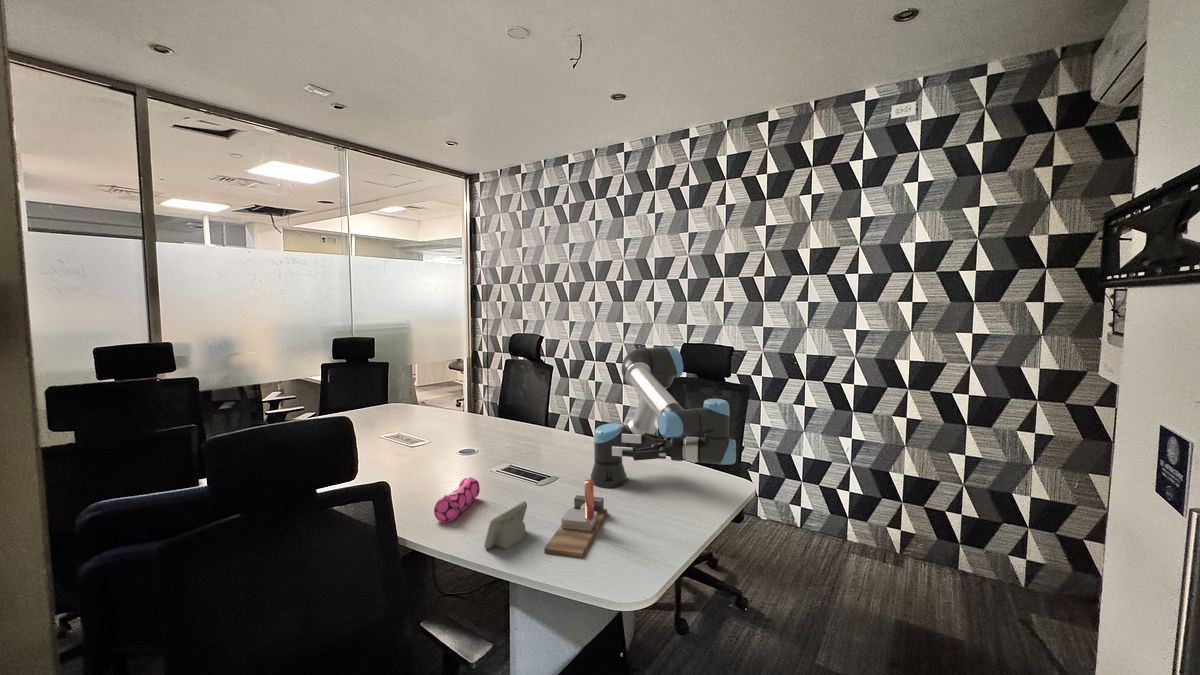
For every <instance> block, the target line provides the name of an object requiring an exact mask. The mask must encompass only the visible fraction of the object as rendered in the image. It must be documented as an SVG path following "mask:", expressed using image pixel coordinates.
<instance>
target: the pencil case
mask: <svg viewBox="0 0 1200 675" xmlns="http://www.w3.org/2000/svg"><path fill="white" fill-rule="evenodd" d="M480 489H481V488H480V483H479V481H478V480H477V479H476V478H474V477H471V476H469V477H465V478H463V479H462V480H461V481H460V482H459V484H458V488H456V489H455V490H453V491H452V492H451V493H449V495H448V494H444V495H443V497H441V498H440V499H438V500H437V501H436V503H435V506H434V509H433V513H434V517H435V518H436V520H437V521H439V522H440V523H450V522H453V521H455V520H456V519H457V517H458V516H459V515H460V514H461V513H462V512H463V511H465V510H466V509H467V508H469V506H470V505H471V504H472V503H473V501H474V500H475V499H476V498H477V497H478V496H479V494H480V491H481V490H480Z"/></svg>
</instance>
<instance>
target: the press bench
mask: <svg viewBox="0 0 1200 675" xmlns="http://www.w3.org/2000/svg"><path fill="white" fill-rule="evenodd" d="M573 500H574V503H573V505H574V506H573V508H572V509H577V510H585V495H581V494H580V495H579V494H576V496H575V497H574V498H573ZM604 500H605V499H604V497H599V496H594V511H596V512H597V522H596V523H595V525H594V527H593V529H592V530H591V532H590V531H582V530H573V529H565V528H561V525H560V526H559V528H558V529H557V530H556V531H555V533H554V534H553V535H552V537H551V538H550V540H549V541H548V543H547V544H546V546H545V547H544V548H543V549H544V554H550V555H557V556H558V555H559V556H564V557H571V558H578V559H583V557H584V556H585V554H586V552H587V550H588V548H589V547H590V545H591V543H592V542H593V540H594V538H595V537H596V536H595V535H596V534H597V532H598V531H599V529H600V527H601V525H602V523H603V522H604V520H605V518H606V516H607V515H608V508H605V506H604V505H605V502H604Z"/></svg>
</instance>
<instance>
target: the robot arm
mask: <svg viewBox="0 0 1200 675" xmlns="http://www.w3.org/2000/svg"><path fill="white" fill-rule="evenodd" d="M620 368H621V375H622V378H623V380H624V381H625V382H626V383H627V385H628V386H631V387H633V388H634V389H635V390H636V391H637V393H638V394H639V395H640V397H639V400H638V404H637V407H636V411H635V413H634V416H633V417H632V418H630V420H629V422H628V423H627V426H626V425H625V426H622V425H621V424H620V423H617V422H614V423H612V422H610V423H604V424H601V425H599V426H597V427H596V428H595V429H594V432H593V433H594V434H593V435H594V436H593V444H594V447H593V449H594V450H593V453H594V456H593V457H594V464H593V467H592V470H591V474H590V480H593V482H594V486H596V487H599V488H618V487H621V486H623V485H625V484H626V483H627V481H628V479H627V478H628V476H627V473H626V471H625V467H624V463H623V457H625V458H633V461H634V462H635V461H647V460H655V459H657V460H658V459H659V460H661V459H663V460H665V459H667V455H669V456H670V460H671V461H674V462H675V461H676V462H683V461H685V462H691V463H692V464H695V463H703V464H712V465H715V464H716V465H734V464H735V463H736V461H737V442H736V440H735V439H732V438H730V416H731V413H730V404H729V402H728V401H727V400H725V399H720V398H708V399H705V400H704V401H703V406H702V407H698V408H697V407H696V408H688V409H687V408H686V409H685V408H683V407H682V406H681V405H680V404H679V402H678V401H676V399H675V398H674V397H673V395H671V393H669V392H668V390H667V388H669V387H670V386H672V384H673V381H674V379H675V378H681V376H682V375H683V374H684V372H683V371H684V362H683V357H682V354H681V353H680V351H679V350H678V349H677V348H676V347H673V346H663V347H659V346H658V347H645V348H643V347H642V348H641V347H640V348H636V349H633V350H631V351H630V352H628V353H627V355H626V356H624V359H623V361H622V363H621V367H620ZM655 423H657V424H655ZM656 425H657V426H656ZM659 434H660V435H659ZM700 434H703V437H702V436H701V437H699V436H692V435H700Z"/></svg>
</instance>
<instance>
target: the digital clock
mask: <svg viewBox="0 0 1200 675" xmlns="http://www.w3.org/2000/svg"><path fill="white" fill-rule="evenodd" d="M527 507H528V503H527V501H526V500H523V501H520V502H517V503H516V504H514V505H512V506H510V507H509V508H507V509H505V510H504V511H501V512H500V513H498V514H496V515H495V516H493V517H491V518H490V520H489V523H488V527H487V530H486V535H485V538H484V542H483V545H484V546H483V547H484V548H485V549H487V550H488V549H489V550H490V549H492V548H493V547H495V545H496V547H498V546H499V548H501V547H502V548H501V549H504V548H505V549H504V550H508V549H510V548H512V547H513V546H514V545H516V544H517V543H519V542H520V541H522V540H523V539H524V537H525V538H526V537H527V536H526V535H527V534H526V524H525V522H524V519H525V516H526V512H527ZM521 539H522V540H521Z"/></svg>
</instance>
